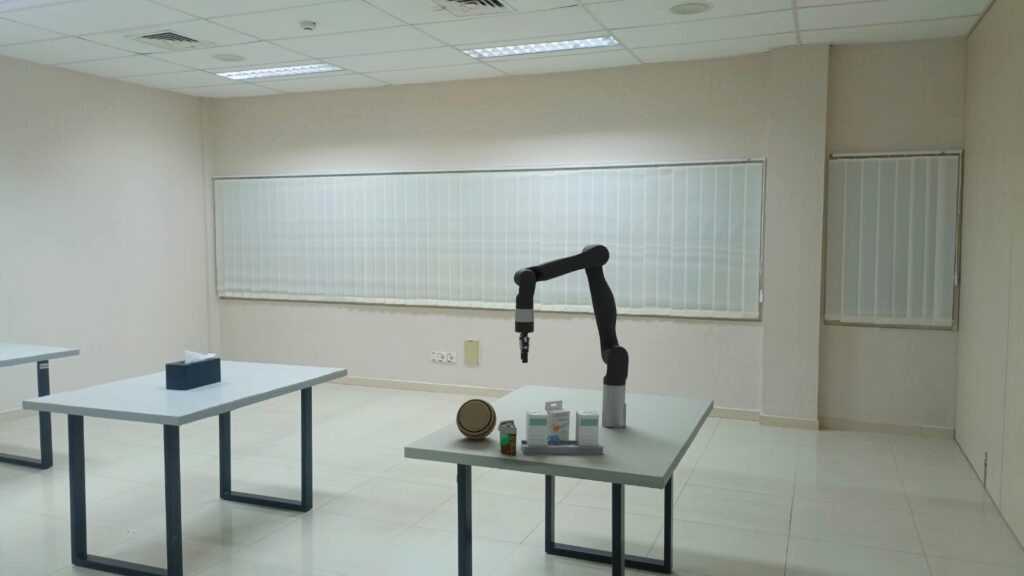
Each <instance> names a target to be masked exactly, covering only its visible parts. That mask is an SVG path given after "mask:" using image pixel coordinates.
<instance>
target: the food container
mask: <svg viewBox="0 0 1024 576" xmlns="http://www.w3.org/2000/svg"><path fill="white" fill-rule="evenodd" d="M517 429H518V428H517V427H516V425H515V420H513V419H510V420H503V421H499V424H498V426H497V430H498V431H499V446H500V449H499V450H500V454H502V455H507V456H515V457H516V456H517V433H518V431H517Z"/></svg>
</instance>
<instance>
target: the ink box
mask: <svg viewBox="0 0 1024 576" xmlns="http://www.w3.org/2000/svg"><path fill="white" fill-rule="evenodd" d="M563 402H564V401H563V400H553V401H552V400H551V401H546V402H545V403H544V411H546V412H547V413H548V440H570V416H571V411H570V410H569V409H566V408H563Z"/></svg>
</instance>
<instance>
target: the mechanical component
mask: <svg viewBox="0 0 1024 576" xmlns="http://www.w3.org/2000/svg"><path fill="white" fill-rule="evenodd" d="M455 422H456V426H457V429H458V431H459V432H460V433H461V435H463V436H464V437H465V438H468V439H470V440H482V439H485V438H487V437H489V436H490V435H491V434H492V432H493V431H494V430H495V427H496V425H497V414H496V410H495V408H494V407H493V406H492V404H491V403H490V402H487V400H485V399H481V398H471V399H469V400H467V401H465V402H463V404H461V405H460V407H459V409H458V410H457V412H456V417H455Z"/></svg>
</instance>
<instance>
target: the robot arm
mask: <svg viewBox="0 0 1024 576" xmlns="http://www.w3.org/2000/svg"><path fill="white" fill-rule="evenodd" d="M609 260H610V251H609V248H607V247H606V246H605V245H603V244H599V243H596V244H595V243H594V244H593V243H592V244H587V245H585V246H584V247H583V249H581V252H580V253H577V254H574V255H570V256H566V257H560V258H555V259H552V260H549V261H546V262H543V263H540V264H536V265H533V266H532V265H531V266H528V267H524V268H520V269H518V270H517V271H516V272H515V273H514V275H513V283H515V285H516V286H518V293H517V294H516V296H515V310H514V311H515V312H514V332H515V333H518V334H519V336H518V340H519V341H518V342H519V349H520V360H521V362H522V364H528V362H529V352H530V340H531V338H530V336H529V335H528V334H531V333H534V332H535V310H534V302H535V301H534V300H535V299H534V296H535V292H536V288H537V287H536V286H537V283H538V282H546V281H550V280H553V279H556V278H558V277H561V276H565V275H567V274H570V273H573V272H577V271H579V270H580V271H581V270H584V272H585V274H586V278H587V283H588V288H589V292H590V299H591V303H592V304H591V305H592V310H593V316H594V318H595V323H596V327H597V331H598V337H599V344H600V345H599V346H600V356H601V359H602V362H603V363H604V364H605V365H606V374H605V375H604V376H603V378H602V410H601V411H602V412H601V425H602V426H603V427H605V428H610V427H614V428H613V429H616V428H615V427H621V428H624V427H623V426H627V403H626V391H627V390H626V389H627V388H626V387H627V386H626V385H627V384H626V383H627V380H628V376H629V365H630V356H629V352H628V350H627V349H626V348H625V347H623V346H620V343H619V339H618V336H617V331H616V330H617V329H616V327H617V317H618V312H617V311H618V309H617V305H616V304H617V303H616V300H615V296H614V294H613V291H612V289H611V288H610V287H611V286H609V284H608V282H607V280H606V278H605V277H606V276H605V274H604V269H603V266H605V265H606V264H607V263H608V262H609Z"/></svg>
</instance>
